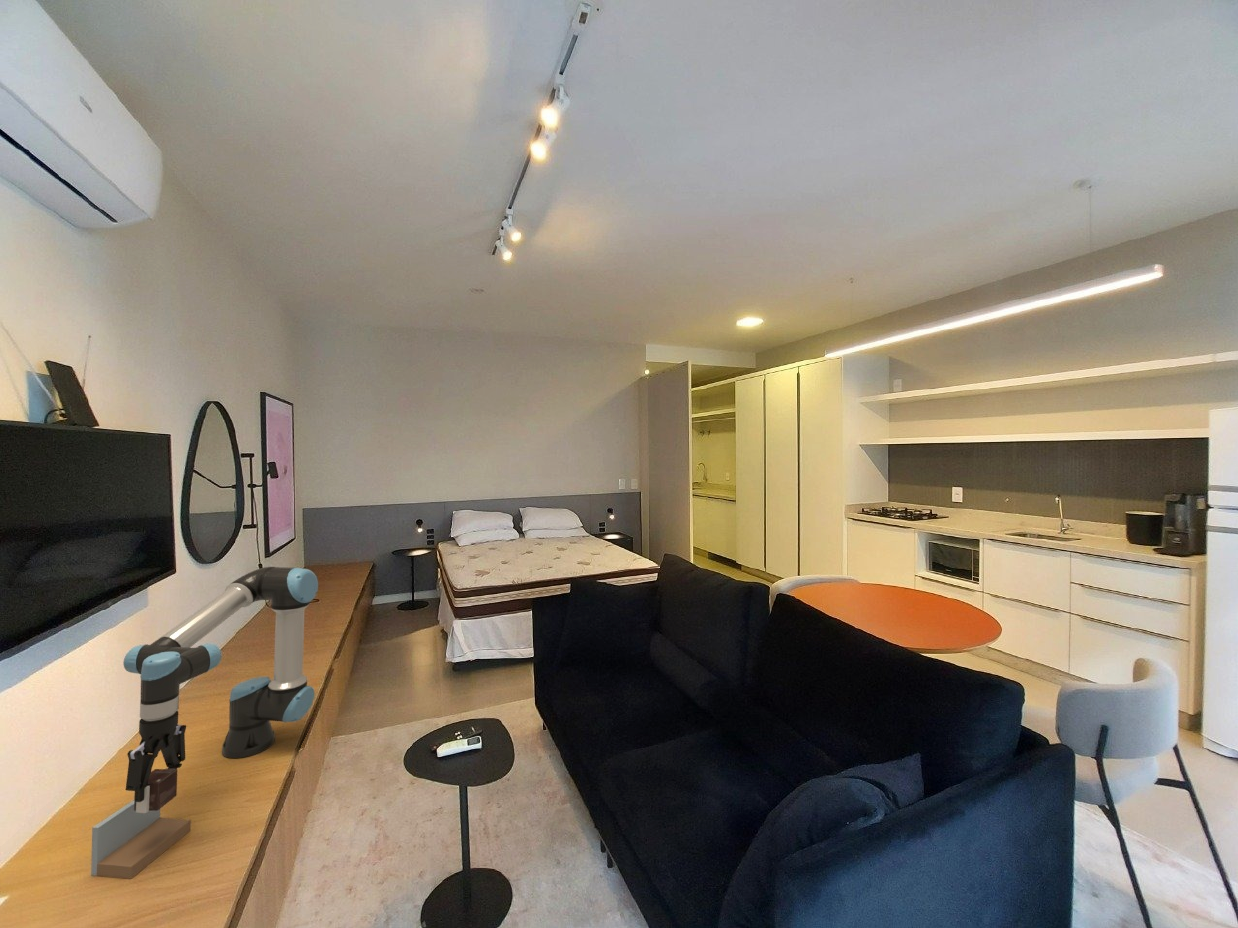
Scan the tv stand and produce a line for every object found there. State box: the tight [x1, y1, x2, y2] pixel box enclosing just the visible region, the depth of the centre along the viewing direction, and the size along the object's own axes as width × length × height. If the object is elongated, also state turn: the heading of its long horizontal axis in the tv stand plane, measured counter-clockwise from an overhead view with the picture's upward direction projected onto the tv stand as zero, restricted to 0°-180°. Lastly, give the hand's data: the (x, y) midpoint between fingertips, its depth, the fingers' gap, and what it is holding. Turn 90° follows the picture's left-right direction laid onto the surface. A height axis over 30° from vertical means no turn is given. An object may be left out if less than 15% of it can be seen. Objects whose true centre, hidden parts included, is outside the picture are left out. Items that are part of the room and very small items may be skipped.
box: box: [134, 768, 178, 811], centre depth 130 cm, size 6×6×7 cm
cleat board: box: [90, 799, 192, 880], centre depth 131 cm, size 16×10×12 cm, turn 177°
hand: (155, 802), depth 130 cm, fingers closed on box, 6 cm apart
